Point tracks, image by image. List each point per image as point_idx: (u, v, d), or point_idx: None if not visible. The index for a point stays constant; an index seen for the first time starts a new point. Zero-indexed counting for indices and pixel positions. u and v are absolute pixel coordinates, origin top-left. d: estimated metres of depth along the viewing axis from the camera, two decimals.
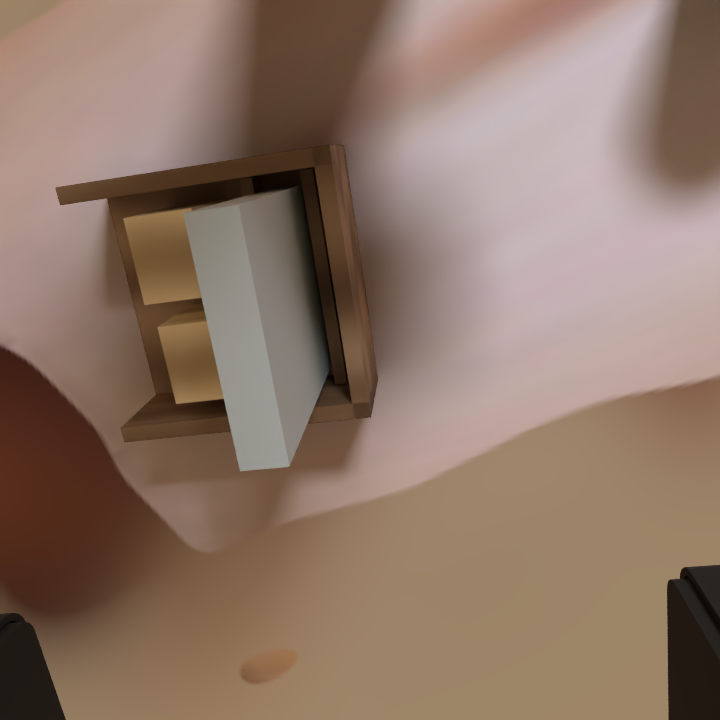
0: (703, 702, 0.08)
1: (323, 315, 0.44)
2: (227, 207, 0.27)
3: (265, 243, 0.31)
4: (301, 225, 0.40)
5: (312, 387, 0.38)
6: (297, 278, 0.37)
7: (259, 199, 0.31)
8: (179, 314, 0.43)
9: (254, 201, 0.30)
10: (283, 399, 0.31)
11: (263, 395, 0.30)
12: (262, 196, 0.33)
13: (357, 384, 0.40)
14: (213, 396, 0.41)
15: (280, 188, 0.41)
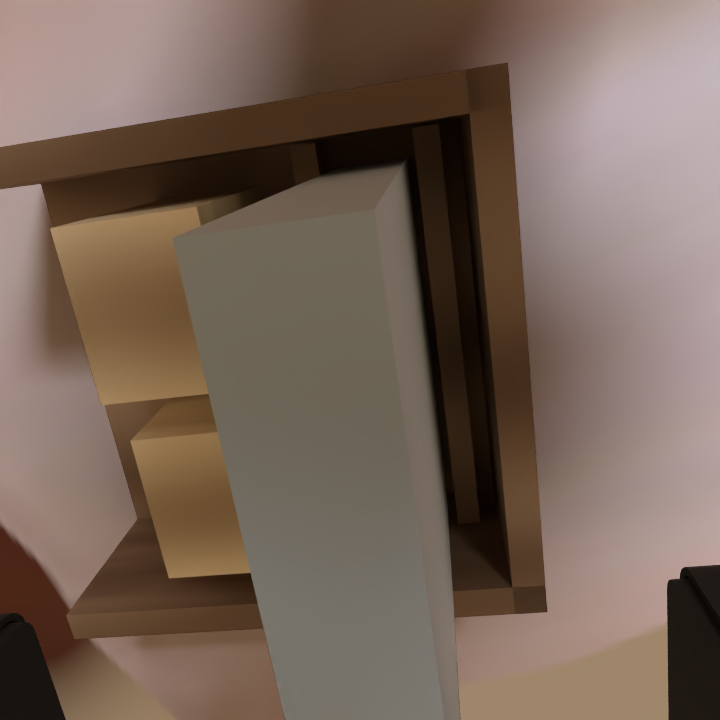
0: (703, 702, 0.08)
1: None
2: (332, 218, 0.08)
3: (404, 310, 0.11)
4: (414, 238, 0.20)
5: (449, 578, 0.18)
6: (424, 356, 0.17)
7: (390, 187, 0.11)
8: (174, 401, 0.23)
9: (387, 193, 0.10)
10: None
11: None
12: (380, 179, 0.13)
13: (526, 553, 0.20)
14: (240, 567, 0.21)
15: (368, 165, 0.21)
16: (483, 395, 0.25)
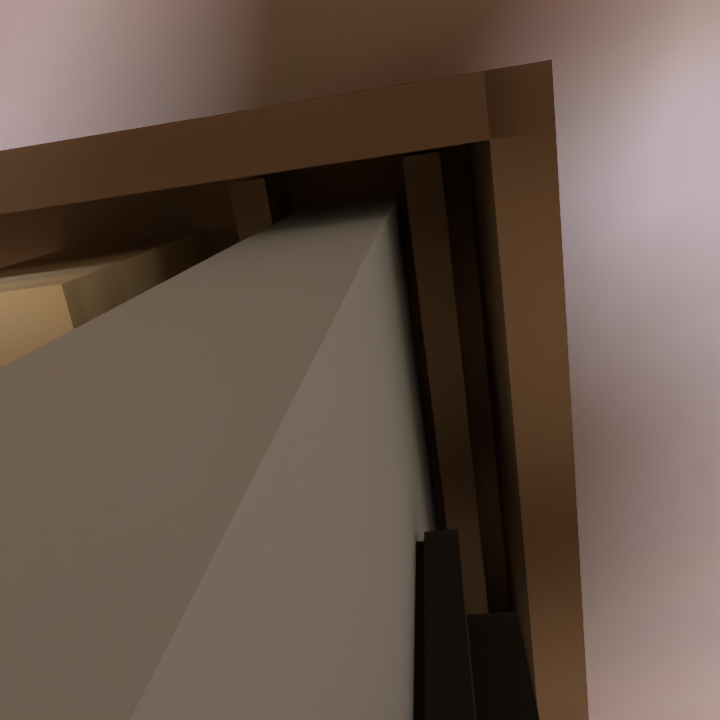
0: None
1: (435, 512, 0.18)
2: None
3: (372, 581, 0.05)
4: (405, 313, 0.14)
5: None
6: (418, 510, 0.11)
7: (337, 317, 0.05)
8: None
9: (319, 360, 0.04)
10: None
11: None
12: (332, 272, 0.07)
13: None
14: None
15: (342, 207, 0.15)
16: (498, 505, 0.19)
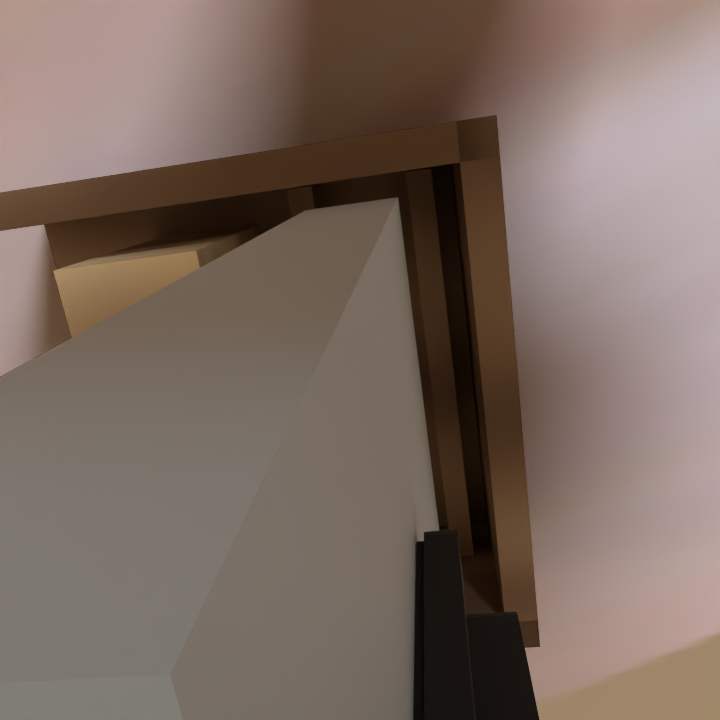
0: None
1: (435, 510, 0.18)
2: None
3: (375, 571, 0.05)
4: (406, 314, 0.14)
5: None
6: (419, 507, 0.12)
7: (343, 317, 0.05)
8: None
9: (326, 359, 0.04)
10: None
11: None
12: (336, 274, 0.07)
13: (518, 588, 0.20)
14: None
15: (344, 209, 0.15)
16: (476, 429, 0.25)
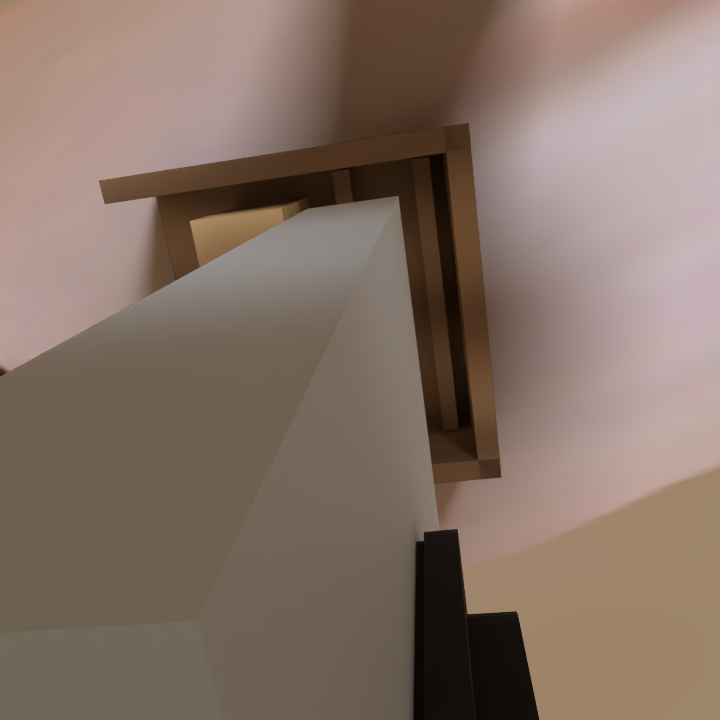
0: None
1: (435, 506, 0.19)
2: (40, 633, 0.02)
3: (377, 556, 0.06)
4: (406, 311, 0.15)
5: None
6: (419, 501, 0.12)
7: (346, 311, 0.05)
8: None
9: (331, 350, 0.04)
10: None
11: None
12: (339, 270, 0.07)
13: (486, 436, 0.31)
14: None
15: (345, 208, 0.16)
16: (461, 343, 0.36)
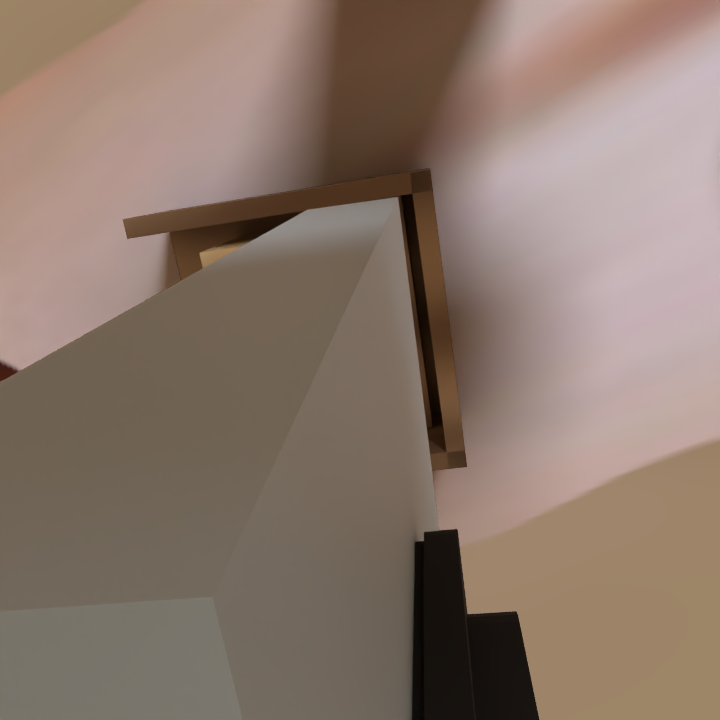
0: None
1: (435, 504, 0.19)
2: (66, 609, 0.02)
3: (377, 550, 0.06)
4: (406, 311, 0.15)
5: None
6: (418, 498, 0.12)
7: (347, 311, 0.06)
8: None
9: (332, 348, 0.05)
10: None
11: None
12: (340, 271, 0.07)
13: (453, 431, 0.36)
14: None
15: (345, 209, 0.16)
16: None
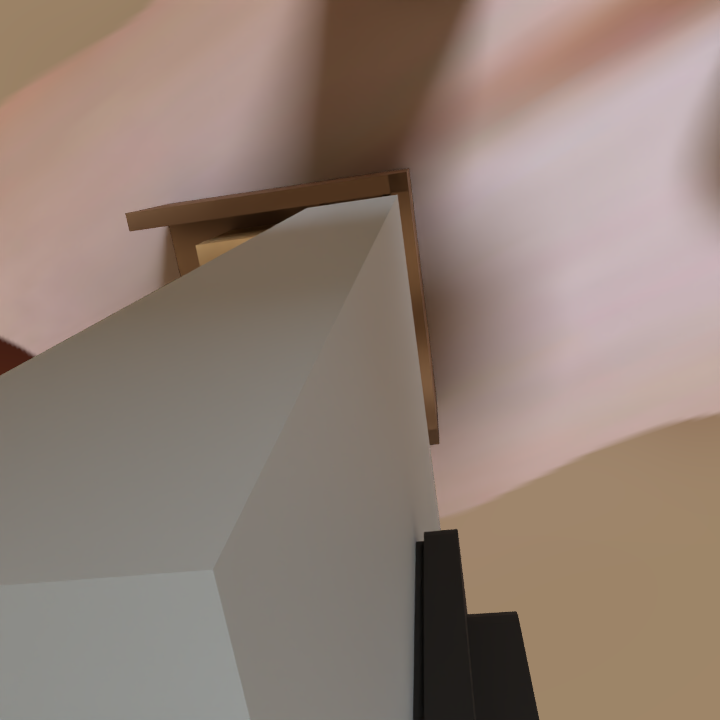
0: None
1: (435, 501, 0.19)
2: (71, 583, 0.02)
3: (377, 540, 0.06)
4: (405, 308, 0.15)
5: None
6: (419, 494, 0.12)
7: (346, 304, 0.06)
8: None
9: (332, 339, 0.05)
10: None
11: None
12: (339, 266, 0.07)
13: (426, 411, 0.40)
14: None
15: (344, 207, 0.16)
16: None
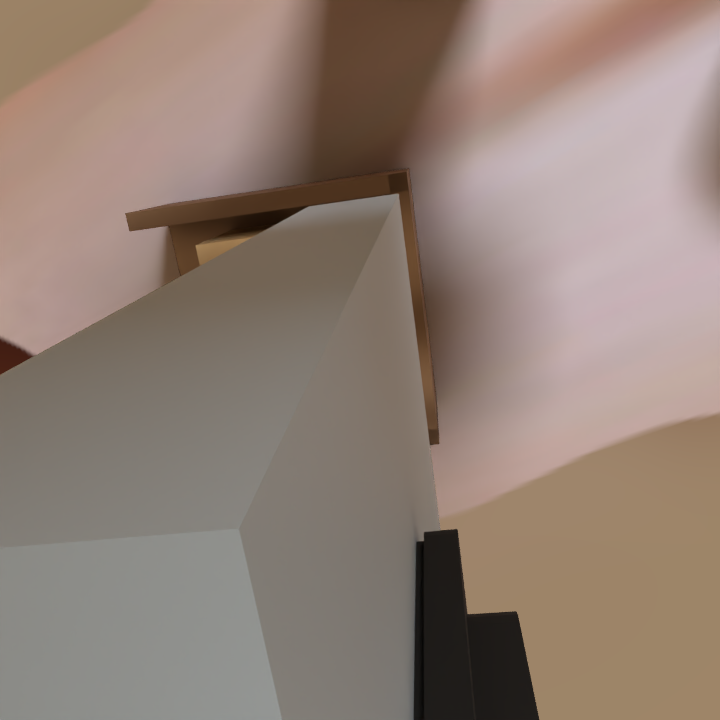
0: None
1: (435, 497, 0.19)
2: (107, 543, 0.02)
3: (380, 526, 0.06)
4: (406, 305, 0.15)
5: None
6: (419, 487, 0.12)
7: (351, 298, 0.06)
8: None
9: (338, 330, 0.05)
10: None
11: None
12: (343, 262, 0.07)
13: (426, 411, 0.40)
14: None
15: (346, 205, 0.16)
16: None
